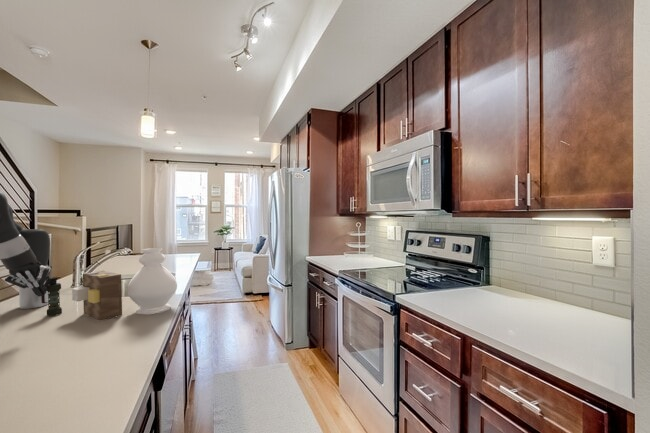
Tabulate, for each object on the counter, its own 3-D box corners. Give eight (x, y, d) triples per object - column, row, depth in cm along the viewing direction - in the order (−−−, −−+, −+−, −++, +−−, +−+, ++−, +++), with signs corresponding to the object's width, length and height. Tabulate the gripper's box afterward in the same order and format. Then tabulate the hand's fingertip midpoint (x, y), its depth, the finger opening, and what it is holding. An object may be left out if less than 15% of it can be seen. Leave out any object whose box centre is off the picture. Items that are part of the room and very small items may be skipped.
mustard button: (88, 301, 116) (87, 290, 116) (106, 297, 122) (105, 286, 121) (93, 303, 114) (93, 291, 114) (111, 299, 119) (111, 287, 119)
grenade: (48, 318, 119) (47, 279, 118) (36, 317, 120) (34, 278, 120) (66, 312, 125) (64, 275, 125) (53, 311, 126) (52, 275, 126)
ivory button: (72, 300, 119) (72, 288, 119) (90, 296, 124) (90, 285, 124) (77, 301, 117) (77, 290, 116) (95, 297, 122) (95, 286, 122)
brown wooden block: (83, 314, 123) (82, 273, 123) (103, 309, 129) (102, 270, 129) (101, 320, 115) (100, 277, 115) (122, 315, 121) (121, 273, 121)
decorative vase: (177, 312, 124) (176, 249, 123) (125, 319, 116) (123, 253, 116) (177, 300, 140) (175, 245, 139) (130, 306, 132) (129, 248, 132)
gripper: (-19, 262, 94) (13, 307, 101) (30, 251, 96) (58, 295, 103) (-2, 251, 100) (27, 293, 108) (43, 240, 103) (69, 282, 110)
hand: (42, 294), depth 105 cm, fingers closed
